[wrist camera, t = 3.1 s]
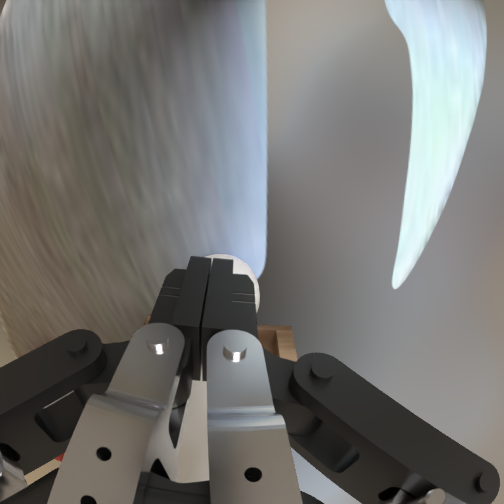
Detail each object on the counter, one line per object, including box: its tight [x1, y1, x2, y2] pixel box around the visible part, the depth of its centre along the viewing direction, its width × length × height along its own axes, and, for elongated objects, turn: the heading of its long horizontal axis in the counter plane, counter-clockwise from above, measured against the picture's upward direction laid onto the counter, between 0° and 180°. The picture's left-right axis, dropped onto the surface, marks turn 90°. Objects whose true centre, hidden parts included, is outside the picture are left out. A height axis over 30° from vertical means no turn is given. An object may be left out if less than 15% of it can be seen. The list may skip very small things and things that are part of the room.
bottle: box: [176, 254, 260, 483], centre depth 18 cm, size 8×8×30 cm
